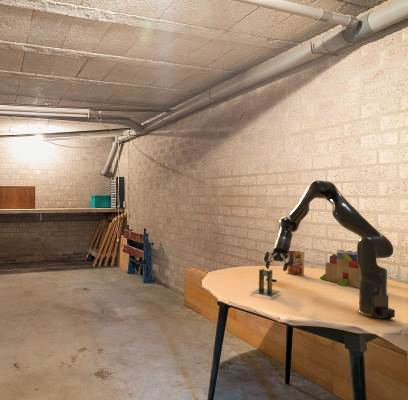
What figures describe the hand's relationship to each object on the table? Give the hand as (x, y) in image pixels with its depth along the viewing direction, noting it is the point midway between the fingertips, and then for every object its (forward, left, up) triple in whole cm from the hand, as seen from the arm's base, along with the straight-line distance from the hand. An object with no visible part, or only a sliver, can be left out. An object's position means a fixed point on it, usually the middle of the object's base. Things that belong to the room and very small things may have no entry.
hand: (275, 269), depth 186 cm
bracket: (-12, +10, -11) cm, 19 cm away
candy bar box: (+37, -63, -11) cm, 74 cm away
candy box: (+39, -31, -11) cm, 51 cm away
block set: (+15, -48, -11) cm, 51 cm away
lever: (-9, +8, -3) cm, 12 cm away
